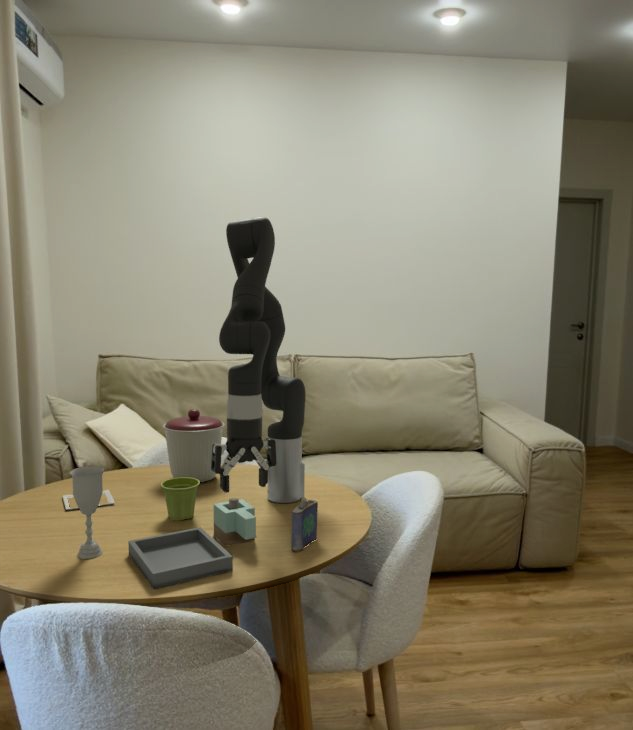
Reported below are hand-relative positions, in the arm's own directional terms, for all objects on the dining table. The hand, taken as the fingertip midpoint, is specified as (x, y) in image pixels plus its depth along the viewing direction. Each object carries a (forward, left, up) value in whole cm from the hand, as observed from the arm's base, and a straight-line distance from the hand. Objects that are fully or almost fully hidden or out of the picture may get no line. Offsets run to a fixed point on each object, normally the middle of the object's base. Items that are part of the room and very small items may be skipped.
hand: (244, 488), depth 134 cm
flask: (-12, +5, -14) cm, 19 cm away
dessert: (+23, -49, -14) cm, 56 cm away
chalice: (+30, -13, -14) cm, 35 cm away
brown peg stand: (0, -6, -13) cm, 15 cm away
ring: (0, -4, -10) cm, 11 cm away
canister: (-8, -54, -14) cm, 57 cm away
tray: (+15, 0, -13) cm, 20 cm away
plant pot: (+6, -25, -14) cm, 29 cm away
